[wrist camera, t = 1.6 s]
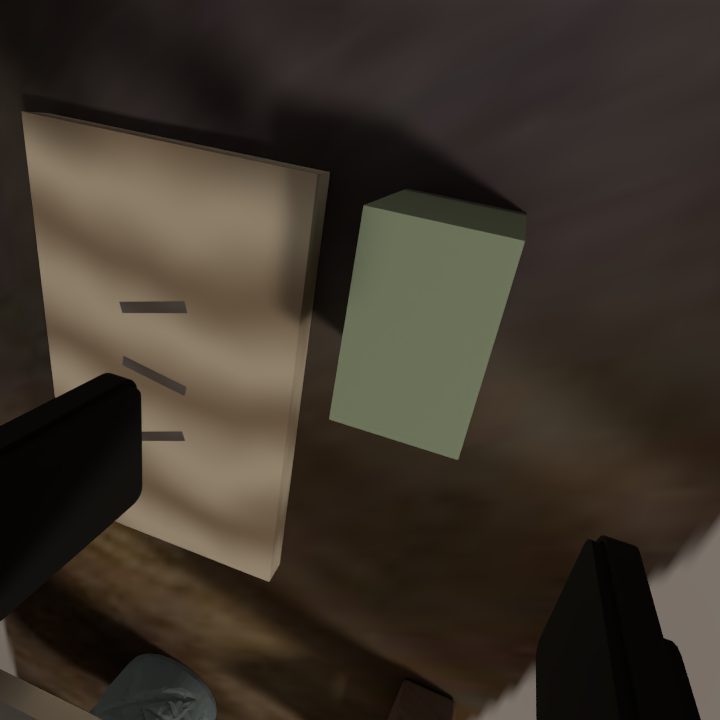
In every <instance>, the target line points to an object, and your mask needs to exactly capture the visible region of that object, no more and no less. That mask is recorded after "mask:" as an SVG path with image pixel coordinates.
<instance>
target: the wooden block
mask: <svg viewBox="0 0 720 720" xmlns="http://www.w3.org/2000/svg"><path fill="white" fill-rule="evenodd" d="M455 710H456V705H455V702H454V701H453V700H451V699H449V698H447V697H445V696H442V695H440V694H438V693H436V692H434V691H431V690H429V689H427V688H425V687H423V686H420V685H418V684H416V683H414V682H411V681H409V680H405V681H404V682H403V683H402V685H401V688H400V690H399V692H398V695H397V697H396V699H395V702H394V704H393V706H392V709H391V711H390V713H389V716H388V718H387V720H454V717H455Z"/></svg>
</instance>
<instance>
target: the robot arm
mask: <svg viewBox="0 0 720 720" xmlns="http://www.w3.org/2000/svg"><path fill="white" fill-rule="evenodd" d="M141 492H142V409H141V392H140V391H139V390H138V389H137V385H136V384H135V382H134V381H133V380H131V379H128V378H125V377H122V376H118V375H115V374H112V373H104V374H102V375H100V376H98V377H96V378H94V379H92V380H90V381H88V382H86V383H84V384H82V385H80V386H78V387H76V388H74V389H72V390H70V391H68V392H66V393H64V394H62V395H60V396H58V397H56V398H54V399H52V400H50V401H49V402H47V403H45V404H43V405H41V406H39V407H37V408H35V409H33V410H31V411H29V412H27V413H25V414H23V415H21V416H19V417H17V418H15V419H13V420H11V421H9V422H7V423H5V424H3V425H1V426H0V621H1V620H3V619H4V618H5V617H6V616H7V615H9V614H10V613H11V612H12V611H13V610H14V609H15V608H16V607H18V606H19V605H20V604H21V603H22V602H23V601H24V600H26V599H27V598H28V597H29V596H30V595H31V594H32V593H34V592H35V591H36V590H37V589H38V588H39V587H40V586H42V585H43V584H44V583H45V582H46V581H47V580H48V579H49V578H51V577H52V576H53V575H54V574H55V573H56V572H57V571H59V570H60V569H61V568H62V567H63V566H64V565H65V564H67V563H68V562H69V561H70V560H71V559H72V558H73V557H75V556H76V555H77V554H78V553H79V552H80V551H81V550H83V549H84V548H85V547H86V546H87V545H88V544H89V543H90V542H92V541H93V540H94V539H95V538H96V537H97V536H98V535H100V534H101V533H102V532H103V531H104V530H105V529H106V528H108V527H109V526H110V525H111V524H112V523H113V522H114V521H116V520H117V519H118V518H119V517H120V516H121V515H122V514H123V513H125V512H126V511H127V510H128V509H129V508H130V507H131V506H133V505H134V504H135V503H136V501H137V500H138V499H139V497H140V495H141ZM536 710H537V711H536V716H537V720H701V719H700V716H699V712H698V709H697V706H696V702H695V699H694V696H693V693H692V689H691V686H690V683H689V679H688V676H687V673H686V670H685V666H684V663H683V660H682V656H681V654H680V652H679V650H678V647H677V646H676V645H675V644H674V643H673V642H672V641H670V640H667V639H665V638H663V635H662V631H661V627H660V624H659V620H658V617H657V613H656V609H655V606H654V602H653V598H652V595H651V591H650V587H649V584H648V580H647V577H646V573H645V569H644V566H643V562H642V558H641V555H640V552H639V549H638V548H637V547H636V546H634V545H631V544H628V543H625V542H622V541H619V540H616V539H613V538H610V537H607V536H604V535H603V536H601V537H599V538H598V540H597V542H596V541H593V540H590V539H589V540H587V541H586V542H585V544H584V546H583V548H582V550H581V552H580V554H579V557H578V559H577V561H576V563H575V565H574V567H573V569H572V571H571V574H570V576H569V578H568V580H567V582H566V584H565V586H564V588H563V591H562V593H561V595H560V597H559V599H558V601H557V603H556V605H555V608H554V610H553V612H552V614H551V616H550V618H549V620H548V622H547V625H546V627H545V629H544V631H543V633H542V635H541V637H540V640H539V643H538V647H537V653H536ZM0 720H102V719H100V718H98V717H96V716H94V715H92V714H90V713H88V712H86V711H84V710H82V709H80V708H78V707H76V706H74V705H72V704H70V703H68V702H66V701H64V700H62V699H60V698H58V697H56V696H54V695H52V694H50V693H48V692H45V691H43V690H41V689H39V688H37V687H35V686H33V685H31V684H29V683H27V682H25V681H23V680H21V679H19V678H17V677H15V676H13V675H11V674H9V673H7V672H5V671H3V670H1V669H0Z"/></svg>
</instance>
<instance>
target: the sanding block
mask: <svg viewBox="0 0 720 720" xmlns="http://www.w3.org/2000/svg"><path fill="white" fill-rule="evenodd" d="M526 219H527V213H523V212H518V211H514V210H509V209H504V208H499V207H495V206H490V205H485V204H480V203H476V202H471V201H466V200H461V199H457V198H452V197H447V196H442V195H438V194H433V193H428V192H423V191H419V190H414V189H409V188H407V189H404V190H402V191H399V192H397V193H394V194H391V195H389V196H386V197H384V198H381V199H379V200H376V201H373V202H371V203H368V204H366V205H364V206H363V212H362V218H361V224H360V231H359V237H358V243H357V249H356V256H355V262H354V268H353V274H352V281H351V287H350V293H349V299H348V305H347V312H346V318H345V324H344V330H343V337H342V343H341V349H340V355H339V361H338V368H337V374H336V380H335V386H334V393H333V399H332V405H331V411H330V418H329V419H330V420H333V421H336V422H339V423H342V424H346V425H349V426H352V427H355V428H358V429H361V430H365V431H368V432H371V433H374V434H377V435H380V436H384V437H387V438H390V439H393V440H396V441H399V442H403V443H406V444H409V445H412V446H415V447H418V448H422V449H425V450H428V451H431V452H434V453H438V454H441V455H444V456H447V457H450V458H453V459H457V460H458V458H459V455H460V452H461V449H462V445H463V442H464V439H465V436H466V432H467V429H468V426H469V423H470V419H471V416H472V413H473V409H474V406H475V403H476V400H477V396H478V393H479V390H480V387H481V383H482V380H483V377H484V374H485V370H486V367H487V364H488V360H489V357H490V354H491V351H492V347H493V344H494V341H495V338H496V334H497V331H498V328H499V324H500V321H501V318H502V315H503V311H504V308H505V305H506V302H507V298H508V295H509V292H510V289H511V285H512V282H513V279H514V275H515V272H516V269H517V266H518V262H519V259H520V256H521V253H522V249H523V246H524V243H525V234H526Z"/></svg>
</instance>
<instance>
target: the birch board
mask: <svg viewBox="0 0 720 720" xmlns="http://www.w3.org/2000/svg"><path fill="white" fill-rule="evenodd" d="M21 112H22V111H21ZM22 120H23V129H24V137H25V146H26V154H27V163H28V171H29V180H30V188H31V197H32V205H33V214H34V222H35V231H36V239H37V248H38V256H39V265H40V273H41V282H42V290H43V299H44V307H45V316H46V324H47V333H48V341H49V350H50V358H51V367H52V375H53V384H54V392H55V398H56V397H58V396H60V395H62V394H64V393H66V392H68V391H70V390H72V389H74V388H76V387H78V386H80V385H82V384H84V383H86V382H88V381H90V380H92V379H94V378H96V377H98V376H100V375H102V374H104V373H112V374H115V375H118V376H122V377H125V378H128V379H131V380H133V381H134V382H135V384H136V385H137V389H138V390H139V391H140V392H141V409H142V492H141V495H140V497H139V499H138V500H137V501H136V503H135V504H134V505H133V506H131V507H130V508H129V509H128V510H127V511H126V512H125V513H123V514H122V515H121V516H120V517H119V518H118V519H117V520H116V522H118V523H121V524H123V525H126V526H128V527H131V528H133V529H136V530H138V531H141V532H143V533H146V534H149V535H151V536H154V537H156V538H159V539H161V540H164V541H166V542H169V543H171V544H174V545H176V546H179V547H182V548H184V549H187V550H189V551H192V552H194V553H197V554H199V555H202V556H204V557H207V558H210V559H212V560H215V561H217V562H220V563H222V564H225V565H227V566H230V567H232V568H235V569H237V570H240V571H243V572H245V573H248V574H250V575H253V576H255V577H258V578H260V579H263V580H265V581H268V582H269V581H270V580H271V578H272V576H273V574H274V573H275V571H276V569H277V568H278V566H279V564H280V557H281V550H282V542H283V534H284V526H285V519H286V511H287V503H288V495H289V488H290V480H291V472H292V464H293V457H294V449H295V441H296V433H297V425H298V418H299V410H300V402H301V394H302V387H303V379H304V371H305V363H306V356H307V348H308V340H309V332H310V325H311V317H312V309H313V301H314V294H315V286H316V278H317V270H318V262H319V255H320V247H321V239H322V231H323V224H324V216H325V208H326V200H327V193H328V185H329V177H330V172H327V171H322V170H318V169H313V168H308V167H303V166H298V165H294V164H289V163H284V162H279V161H275V160H270V159H265V158H260V157H256V156H251V155H246V154H241V153H236V152H232V151H227V150H222V149H217V148H213V147H208V146H203V145H198V144H193V143H189V142H184V141H179V140H174V139H170V138H165V137H160V136H155V135H151V134H146V133H141V132H136V131H131V130H127V129H122V128H117V127H112V126H108V125H103V124H98V123H93V122H89V121H84V120H79V119H74V118H69V117H65V116H60V115H55V114H50V113H39V112H22Z"/></svg>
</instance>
